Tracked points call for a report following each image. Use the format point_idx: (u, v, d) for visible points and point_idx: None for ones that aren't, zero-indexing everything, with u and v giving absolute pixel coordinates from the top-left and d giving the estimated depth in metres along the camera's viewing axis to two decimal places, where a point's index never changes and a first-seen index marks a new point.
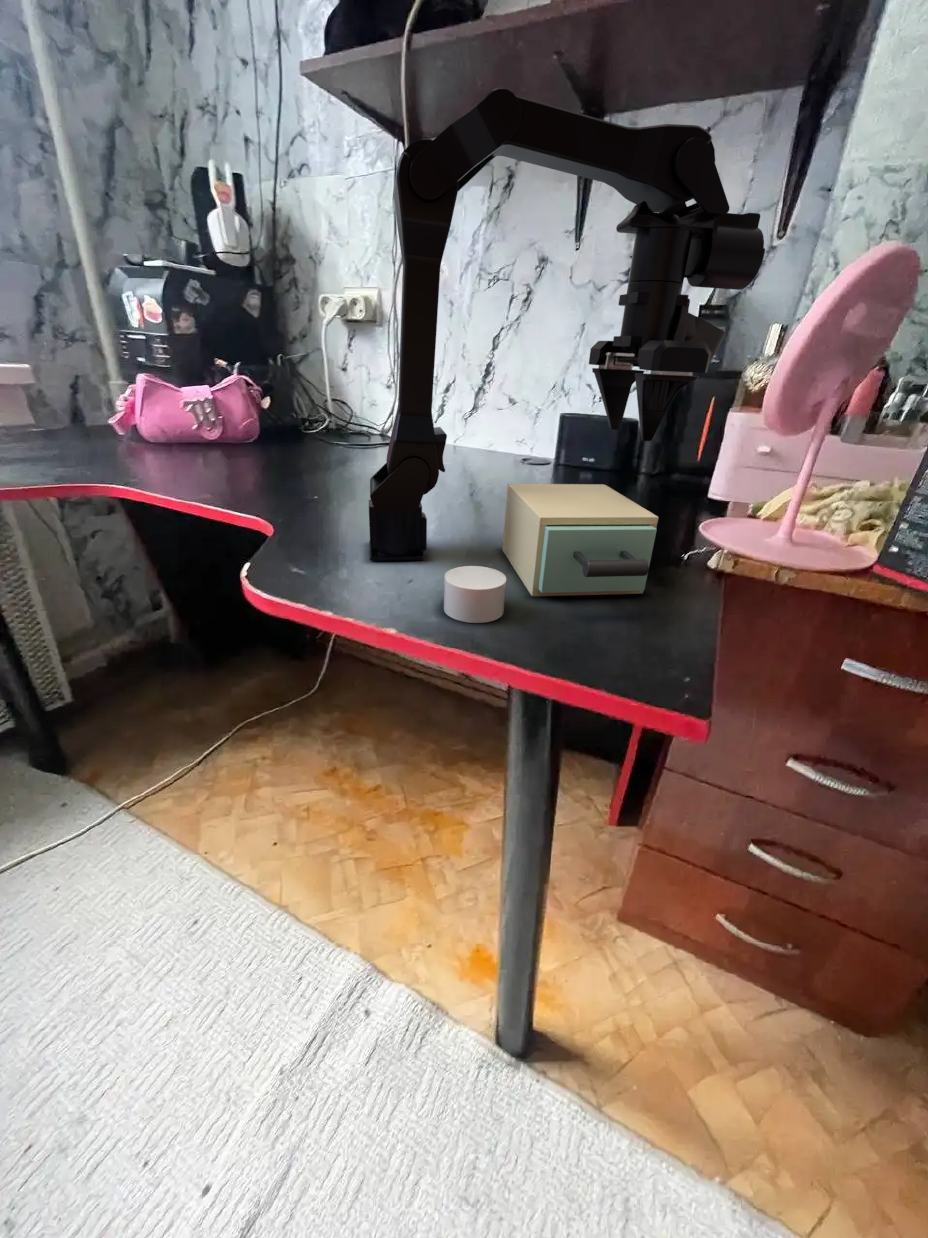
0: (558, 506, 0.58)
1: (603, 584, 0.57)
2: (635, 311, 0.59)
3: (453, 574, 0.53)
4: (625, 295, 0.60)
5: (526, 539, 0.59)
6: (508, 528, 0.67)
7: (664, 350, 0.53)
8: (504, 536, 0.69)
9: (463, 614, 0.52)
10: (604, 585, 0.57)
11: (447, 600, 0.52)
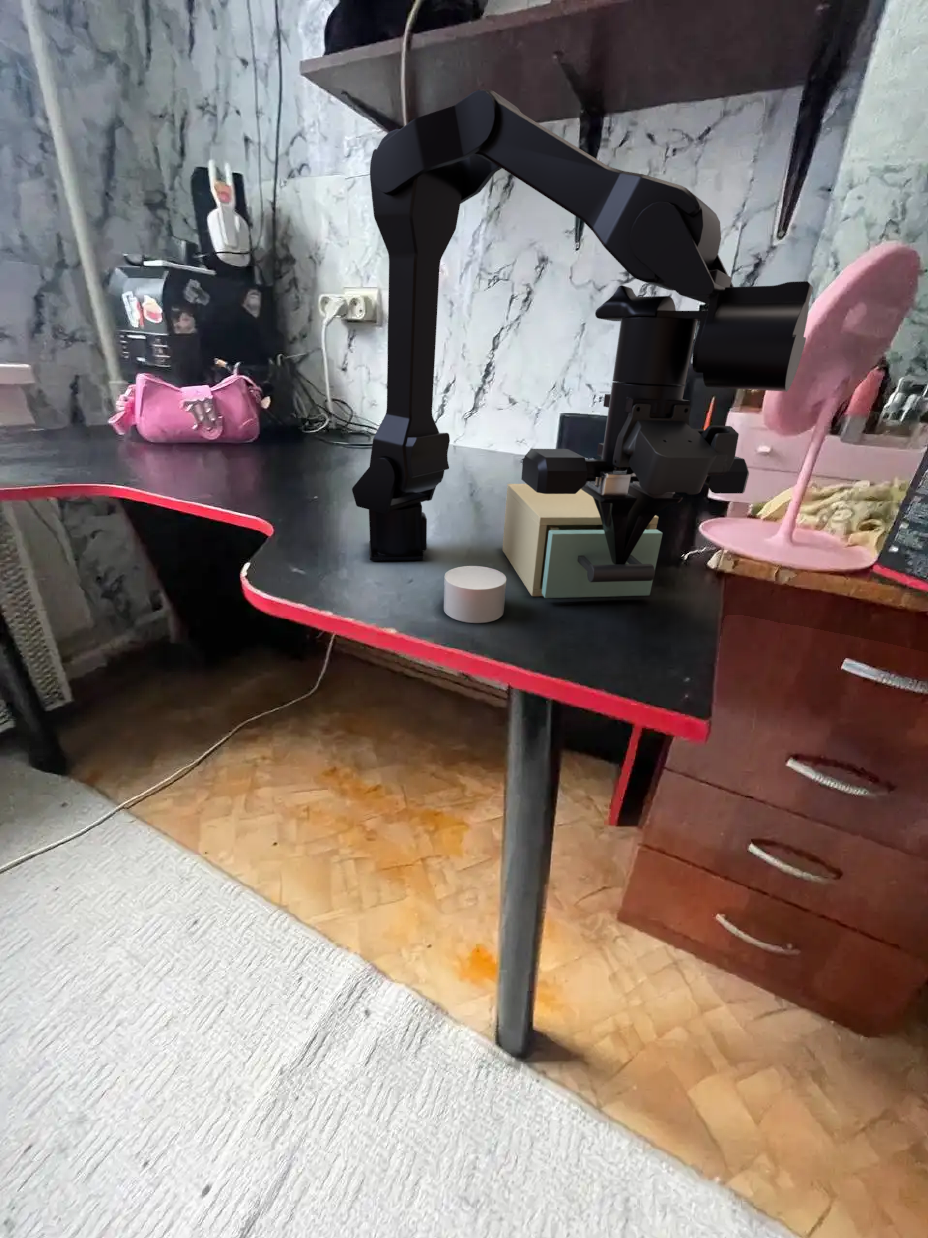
0: (558, 506, 0.58)
1: (608, 589, 0.56)
2: None
3: (453, 574, 0.53)
4: None
5: (526, 539, 0.59)
6: (508, 528, 0.67)
7: None
8: (504, 536, 0.69)
9: (463, 614, 0.52)
10: (609, 589, 0.56)
11: (447, 600, 0.52)
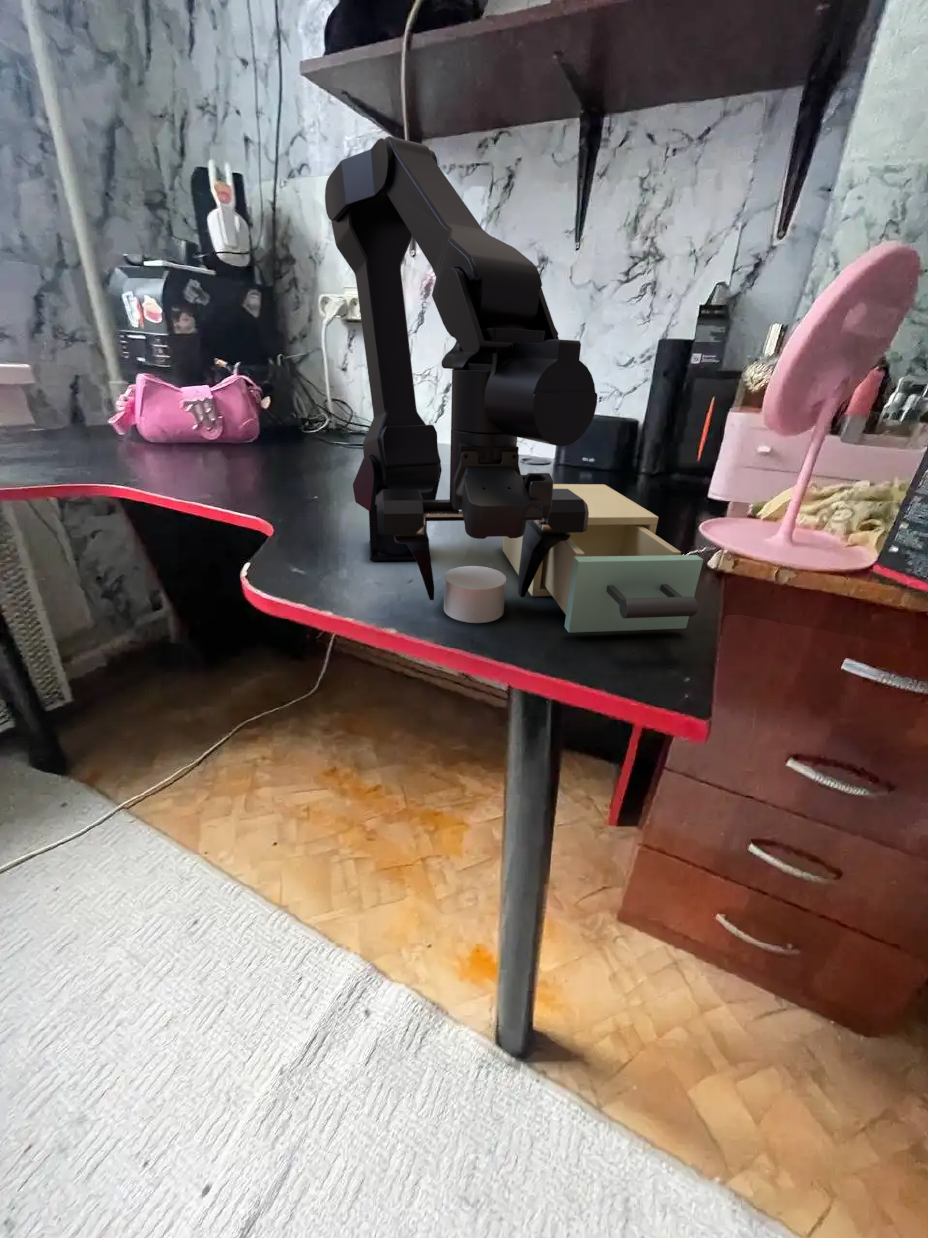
0: None
1: (639, 622, 0.49)
2: None
3: (453, 574, 0.53)
4: None
5: None
6: None
7: None
8: (504, 536, 0.69)
9: (463, 614, 0.52)
10: (641, 622, 0.49)
11: (447, 600, 0.52)
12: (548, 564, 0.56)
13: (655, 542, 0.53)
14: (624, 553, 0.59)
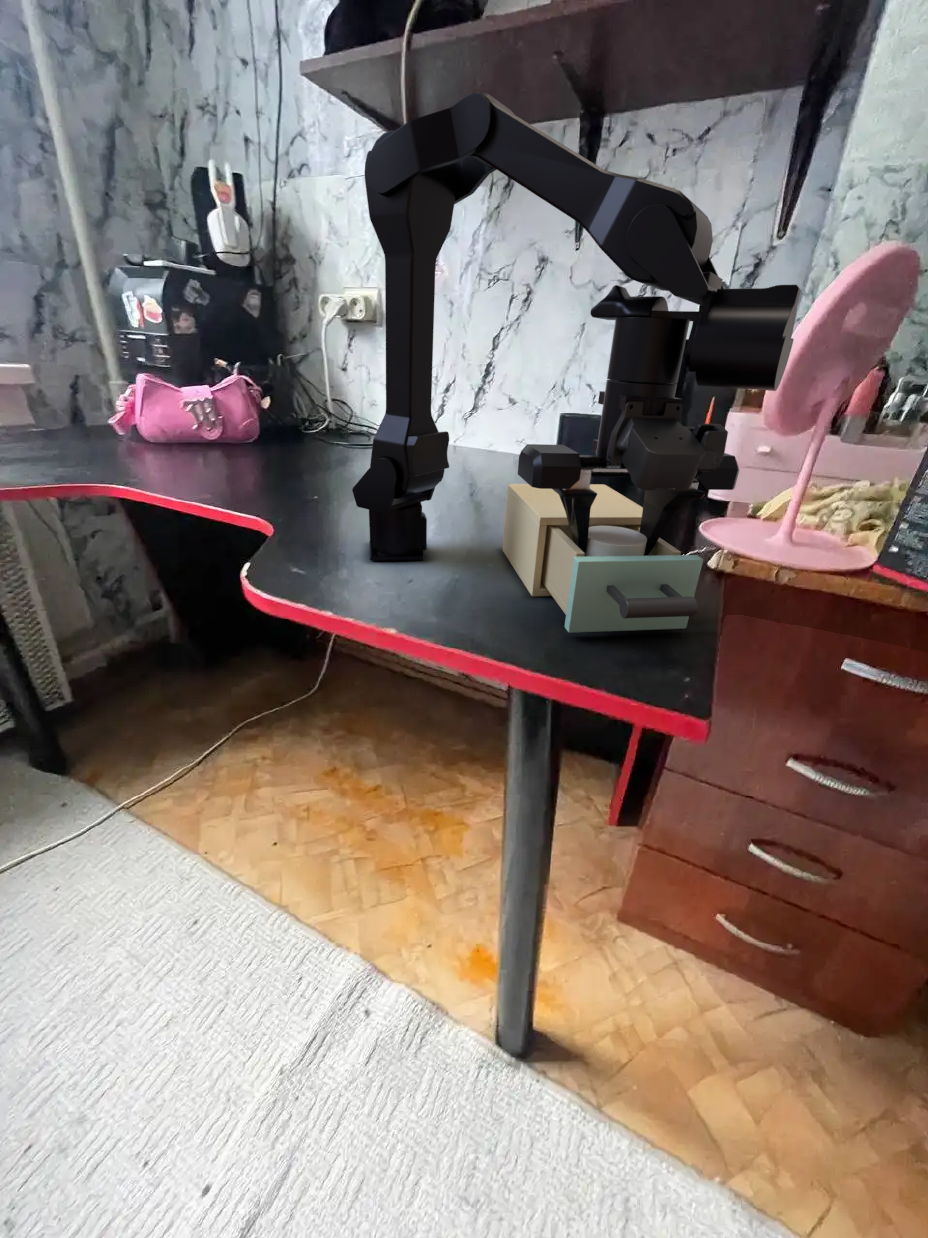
0: (558, 506, 0.58)
1: (639, 622, 0.49)
2: None
3: (591, 532, 0.52)
4: None
5: (526, 539, 0.59)
6: (508, 528, 0.67)
7: None
8: (504, 536, 0.69)
9: None
10: (641, 622, 0.49)
11: None
12: (548, 564, 0.56)
13: None
14: None
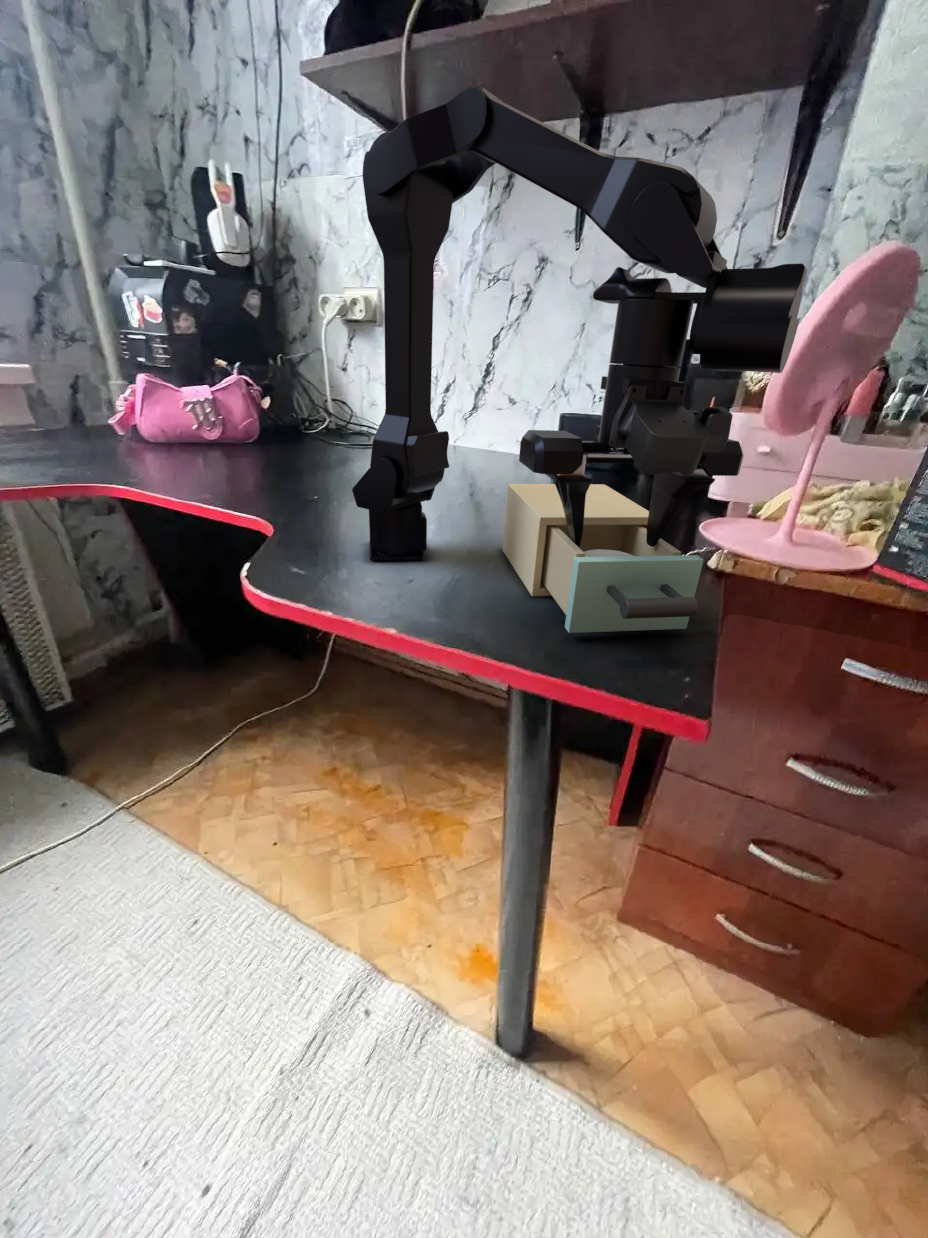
0: (558, 506, 0.58)
1: (640, 622, 0.49)
2: None
3: None
4: None
5: (526, 539, 0.59)
6: (508, 528, 0.67)
7: (521, 440, 0.49)
8: (504, 536, 0.69)
9: None
10: (641, 623, 0.49)
11: None
12: (548, 564, 0.56)
13: None
14: None
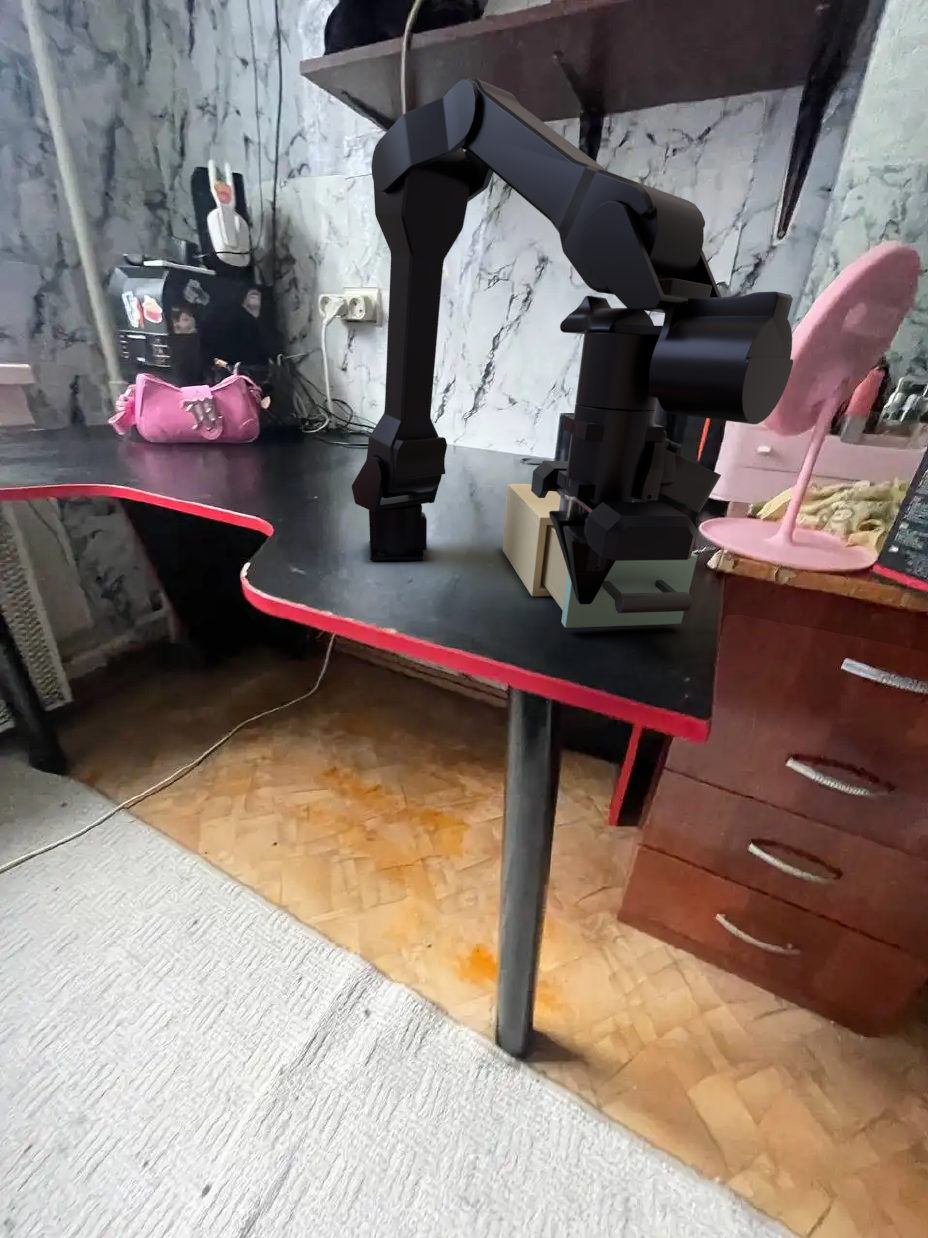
0: (558, 506, 0.58)
1: (635, 617, 0.50)
2: (584, 449, 0.39)
3: None
4: (571, 420, 0.40)
5: (526, 539, 0.59)
6: (508, 528, 0.67)
7: (622, 533, 0.34)
8: (504, 536, 0.69)
9: None
10: (636, 618, 0.50)
11: None
12: (545, 561, 0.57)
13: None
14: None
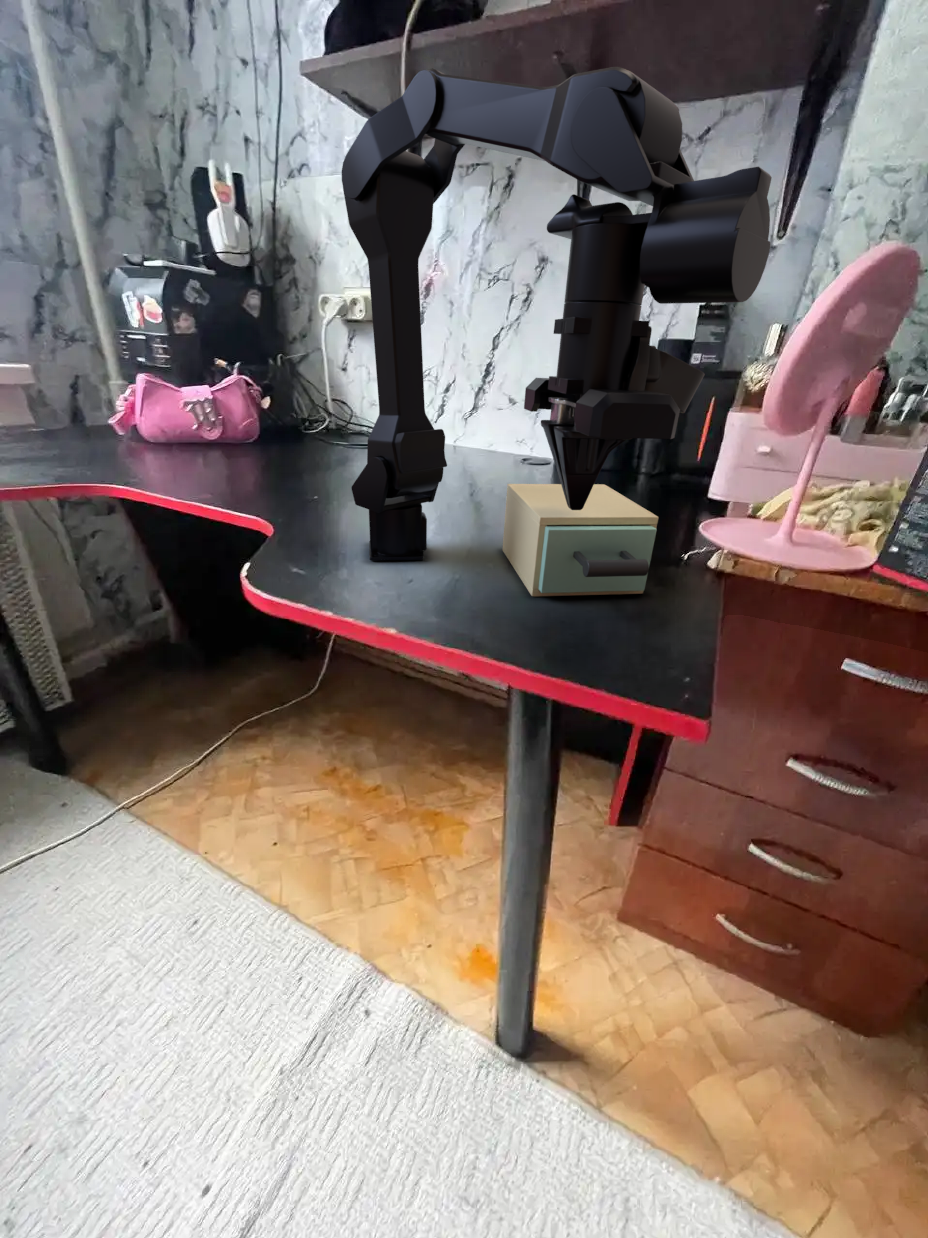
0: (558, 506, 0.58)
1: (603, 584, 0.57)
2: (573, 345, 0.41)
3: None
4: (560, 320, 0.42)
5: (526, 539, 0.59)
6: (508, 528, 0.67)
7: (607, 408, 0.35)
8: (504, 536, 0.69)
9: None
10: (604, 585, 0.57)
11: None
12: None
13: None
14: None
